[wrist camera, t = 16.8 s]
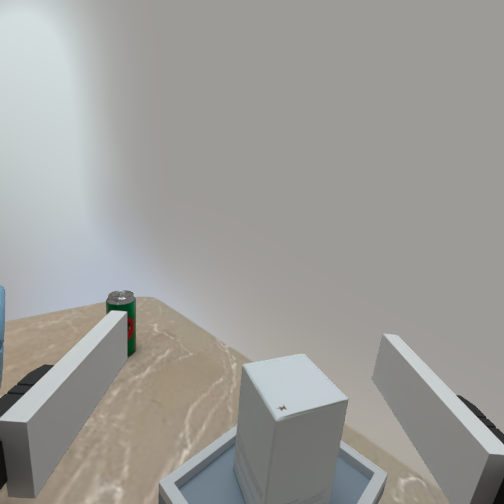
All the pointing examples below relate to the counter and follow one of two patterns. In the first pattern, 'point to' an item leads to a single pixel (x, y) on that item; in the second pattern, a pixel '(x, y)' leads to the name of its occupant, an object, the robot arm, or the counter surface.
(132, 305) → the soda can
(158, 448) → the counter surface
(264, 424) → the supplement box
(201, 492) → the shallow rimmed tray
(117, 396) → the counter surface
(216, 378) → the counter surface
